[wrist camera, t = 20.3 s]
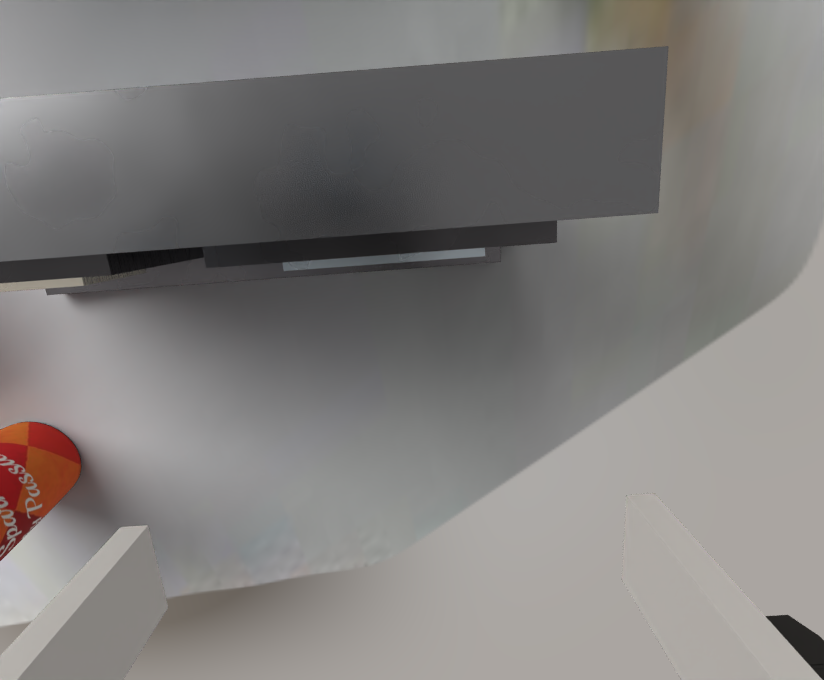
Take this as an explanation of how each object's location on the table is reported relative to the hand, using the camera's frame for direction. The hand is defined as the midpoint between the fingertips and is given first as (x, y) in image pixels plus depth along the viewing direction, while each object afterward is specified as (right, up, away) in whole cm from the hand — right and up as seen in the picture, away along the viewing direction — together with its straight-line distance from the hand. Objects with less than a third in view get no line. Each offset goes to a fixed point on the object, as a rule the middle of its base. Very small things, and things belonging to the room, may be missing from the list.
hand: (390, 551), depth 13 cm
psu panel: (-8, +14, +14) cm, 21 cm away
